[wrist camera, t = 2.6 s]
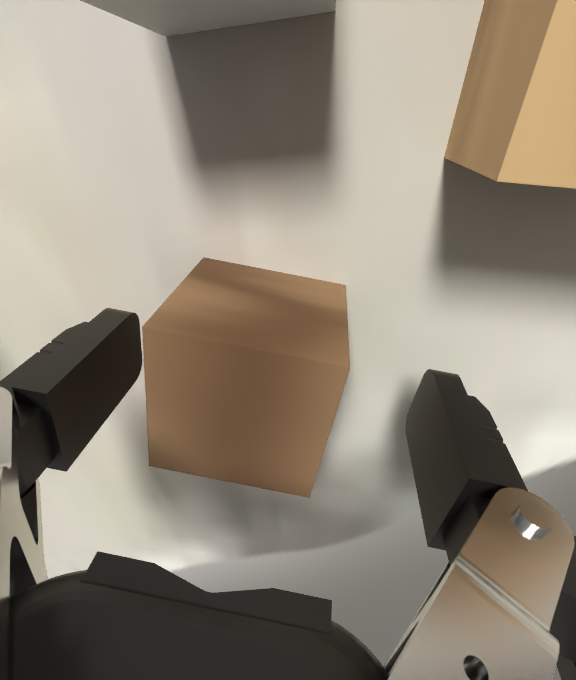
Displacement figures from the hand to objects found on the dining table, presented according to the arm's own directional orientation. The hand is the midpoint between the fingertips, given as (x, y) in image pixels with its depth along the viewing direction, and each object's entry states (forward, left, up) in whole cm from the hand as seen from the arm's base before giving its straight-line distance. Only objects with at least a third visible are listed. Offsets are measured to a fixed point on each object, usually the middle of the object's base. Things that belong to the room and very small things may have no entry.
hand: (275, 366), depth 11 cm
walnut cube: (-1, 0, -3) cm, 3 cm away
